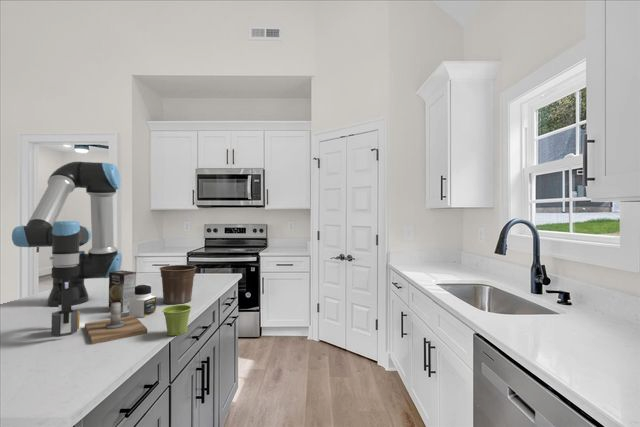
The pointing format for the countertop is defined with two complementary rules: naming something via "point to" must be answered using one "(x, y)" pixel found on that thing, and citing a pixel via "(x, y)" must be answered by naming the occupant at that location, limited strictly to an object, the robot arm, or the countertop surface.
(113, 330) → the board
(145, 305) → the medicine bottle
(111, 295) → the coffee box
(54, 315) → the knob
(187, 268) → the plant pot
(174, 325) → the plant pot
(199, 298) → the countertop surface
